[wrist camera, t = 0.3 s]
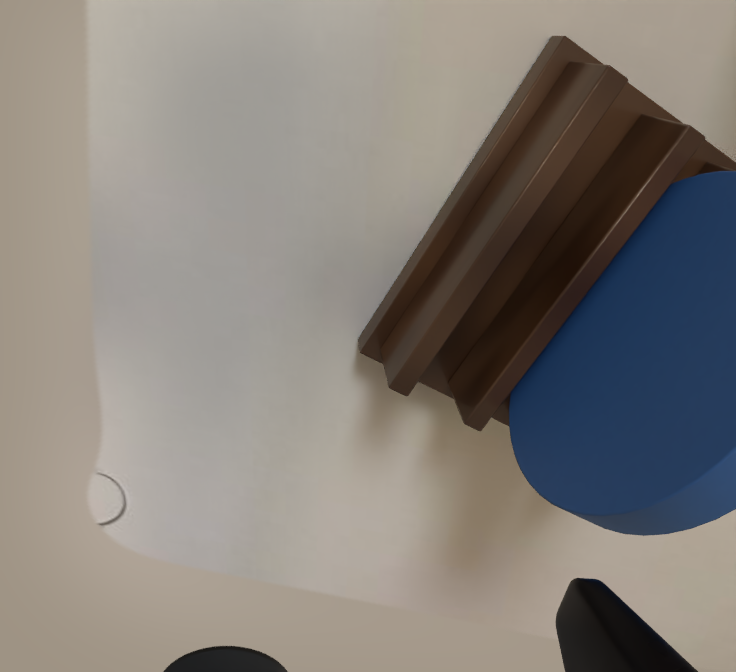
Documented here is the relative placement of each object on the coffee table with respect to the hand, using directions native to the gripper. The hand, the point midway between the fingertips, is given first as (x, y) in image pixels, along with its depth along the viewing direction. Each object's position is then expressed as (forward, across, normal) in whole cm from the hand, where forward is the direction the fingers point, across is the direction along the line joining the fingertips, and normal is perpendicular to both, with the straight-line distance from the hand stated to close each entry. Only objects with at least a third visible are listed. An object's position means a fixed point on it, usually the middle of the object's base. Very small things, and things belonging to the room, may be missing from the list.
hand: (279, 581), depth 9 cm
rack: (+16, -11, 0) cm, 19 cm away
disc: (+15, -11, 0) cm, 18 cm away
